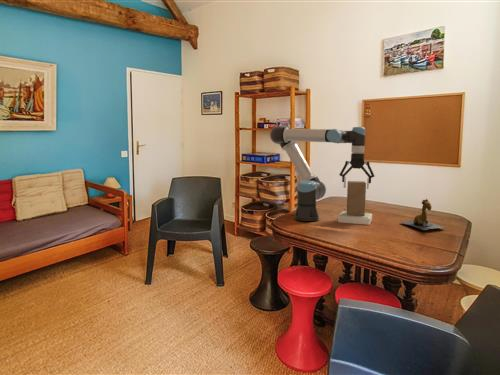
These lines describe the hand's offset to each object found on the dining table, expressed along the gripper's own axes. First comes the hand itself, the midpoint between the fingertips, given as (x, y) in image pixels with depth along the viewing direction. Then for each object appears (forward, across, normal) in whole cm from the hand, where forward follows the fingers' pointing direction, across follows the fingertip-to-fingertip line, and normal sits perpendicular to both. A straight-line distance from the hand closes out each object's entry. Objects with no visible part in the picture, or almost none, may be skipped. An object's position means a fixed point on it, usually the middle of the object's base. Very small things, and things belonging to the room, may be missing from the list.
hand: (356, 188), depth 206 cm
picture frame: (+20, +1, 0) cm, 20 cm away
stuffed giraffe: (+20, +37, +3) cm, 42 cm away
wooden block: (+16, 0, 0) cm, 16 cm away
